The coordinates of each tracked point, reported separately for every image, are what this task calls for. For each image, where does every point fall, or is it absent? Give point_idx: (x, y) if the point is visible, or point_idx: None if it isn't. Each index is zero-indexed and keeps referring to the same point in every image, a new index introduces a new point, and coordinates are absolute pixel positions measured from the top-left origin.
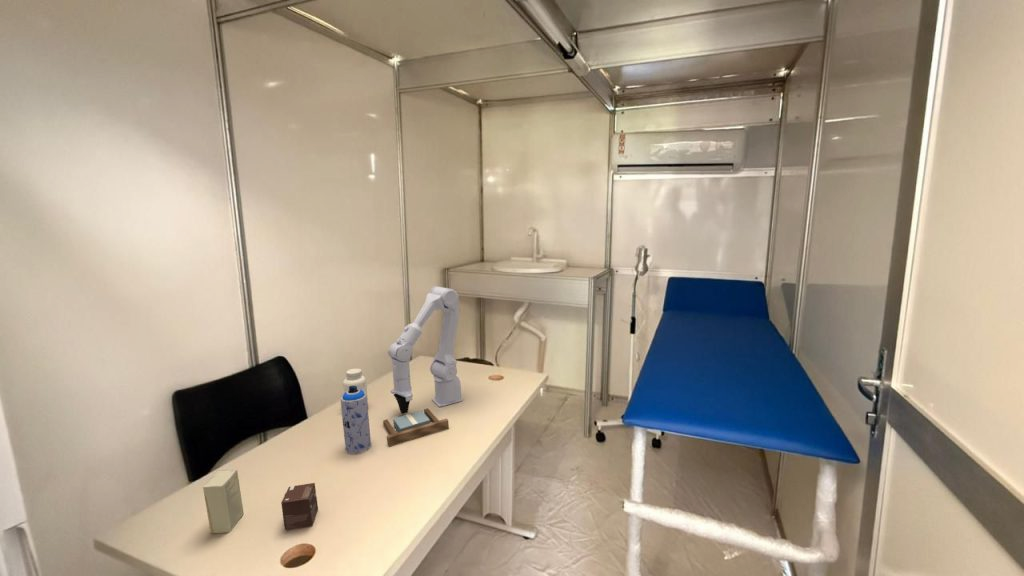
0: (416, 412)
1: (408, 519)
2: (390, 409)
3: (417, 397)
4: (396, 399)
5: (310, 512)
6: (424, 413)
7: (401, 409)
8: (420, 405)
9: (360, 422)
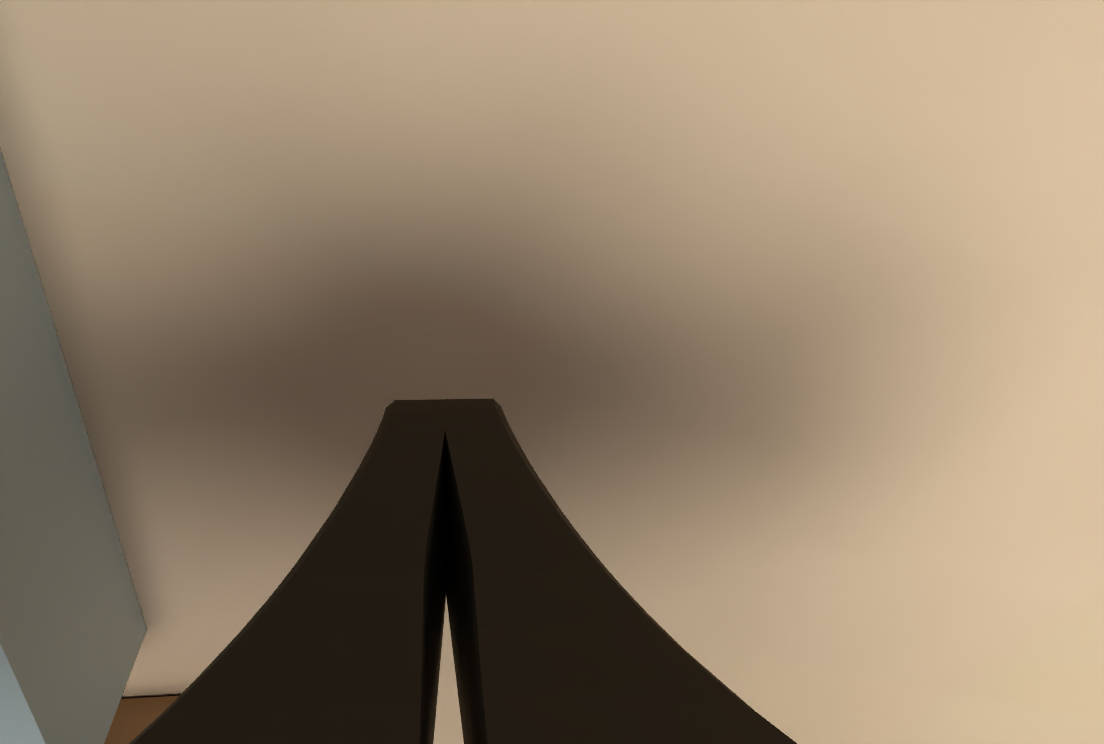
0: (13, 728)
1: None
2: (1042, 236)
3: (1003, 720)
4: (638, 704)
5: None
6: None
7: (352, 495)
8: None
9: None
